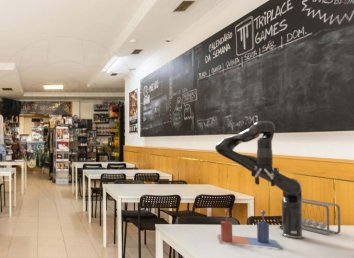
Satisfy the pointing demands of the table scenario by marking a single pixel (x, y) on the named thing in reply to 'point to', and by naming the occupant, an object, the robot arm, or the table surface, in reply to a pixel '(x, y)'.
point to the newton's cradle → (321, 224)
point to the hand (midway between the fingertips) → (265, 185)
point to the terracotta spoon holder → (226, 230)
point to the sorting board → (252, 241)
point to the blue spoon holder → (262, 230)
